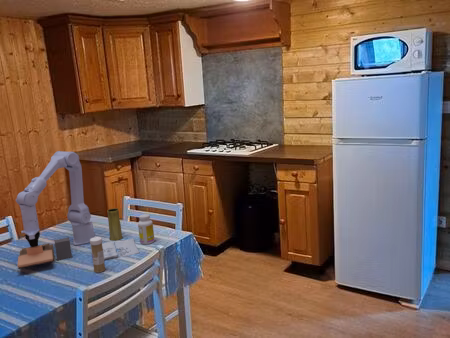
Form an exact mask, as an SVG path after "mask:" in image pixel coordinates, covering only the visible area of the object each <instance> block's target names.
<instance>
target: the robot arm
mask: <svg viewBox="0 0 450 338" xmlns="http://www.w3.org/2000/svg"><path fill="white" fill-rule="evenodd" d="M62 168H65V169H66V170H67V171H68V173H69V174H68V175H69V186H70V187H69V188H70V201H71V203H70V205H69V207H68V212H67V220H68V222H70V225H71V227H72V234H73V236H72V237H73V239H72V242H73V246H79V245H83V244H88V243H89V244H90V239H91V238H94V237H96V234H95V231H94V228H95V227H94V223H93V221H90V220H91V217H92V216H91V212H90V209H89V207H88V205H87V204H86V203H85V199H84V184H83V171H82V170H83V169H82V163H81V162H80V156H79V154H77V153H76V152H74V151H62V150H57V151H56V152H55V153H53V155H52V156H51V157H50V161H49V162H48V163H47V165H46V167H44V169H43V170H42V172H41V174H40V175H39V176H36V177H34V178H33V177H32V179H31V180H30V181H31V182H30V183H29V184H28V185H27V186H26V187H25V188H24V190H23V191H20V192H19V193H18V194H17V196H16V198H15V202H16V204H17V205H18V206H19V208H20V215H21V220H22V225H23V230H21V231H20V232H21V234H25V235H24V238H25V240H26V241H27V242H28V244H29V247H35V246H38V245H39V238H40V235H41V234H40V233H41V232H40V230H41V229H40V225H39V219H38V214H37V207H36V204H37V203H38V201H39V199H38V198H39V195H41V193H42V192H43V190H44V189H45V188H46V187H47V185H48V184H47V181H48V180H49V179H50V178H51V177H52V176H53V175H54V173H55V172H56V171H57V170H58V169H62Z"/></svg>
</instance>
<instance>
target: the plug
mask: <svg viewBox="0 0 450 338" xmlns="http://www.w3.org/2000/svg"><path fill="white" fill-rule="evenodd" d="M53 242H54V246H55V247H54V248H55V254H56V259H57V260H56V261H57V262H59V261H62V260H63V261H64V260H67V259H72V258H73V255H72V248H71V240H70V237H64V238H59V239H58V238H57V239H54V241H53Z"/></svg>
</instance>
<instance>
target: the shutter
mask: <svg viewBox="0 0 450 338" xmlns="http://www.w3.org/2000/svg"><path fill="white" fill-rule="evenodd" d="M39 245H40V246H35V247H30V246H29V247H30V248H28V247H26V248H27V254H26V255H21V256H19V255H18V257H17V266H16V267H17V268H18V269H20V268H19V267H24V266H29V265H33V264H38V263H43V262H48V261H53V255H52V250H47V251H43V248H42V245H43V244H39ZM53 262H54V261H53ZM48 263H49V262H48ZM29 267H30V266H29ZM24 268H25V267H24Z"/></svg>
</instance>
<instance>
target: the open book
mask: <svg viewBox="0 0 450 338" xmlns="http://www.w3.org/2000/svg"><path fill="white" fill-rule="evenodd" d="M102 247H103V254H104V261H106V260H111V259H119V258H122V257H128V256H132V255H137V254H140V251H139V250H138V246H137V244H136V239H134V238H129V239H126V240H125V239H124V240H118V241H112V240H111V241H108V242H104V243H103V242H102ZM90 249H91V248H90ZM117 250H118V251H117ZM90 251H91V252H90V253H92V249H91V250H90Z"/></svg>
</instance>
